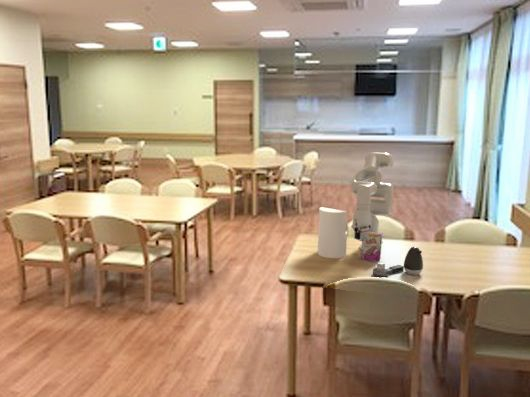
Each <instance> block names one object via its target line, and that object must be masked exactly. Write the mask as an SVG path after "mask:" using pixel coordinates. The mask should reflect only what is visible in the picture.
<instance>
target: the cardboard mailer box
mask: <svg viewBox="0 0 530 397" xmlns="http://www.w3.org/2000/svg"><path fill="white" fill-rule="evenodd" d="M357 230H358V227H357ZM353 232H354V234H353V239H354V240H356V241H359V242H362V241H365V240H368V238H369V228H368V227H360V231H359V232H360V239H356V238H355V231H354V230H353Z"/></svg>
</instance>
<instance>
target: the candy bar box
mask: <svg viewBox="0 0 530 397" xmlns="http://www.w3.org/2000/svg"><path fill="white" fill-rule="evenodd" d="M382 242H383V232H378V233H377V232H369V238H368V240H365V241H361V244H362V249H361V252H360V260H366V261H372V262H381V257H382V246H383V245H382V244H383V243H382Z"/></svg>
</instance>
